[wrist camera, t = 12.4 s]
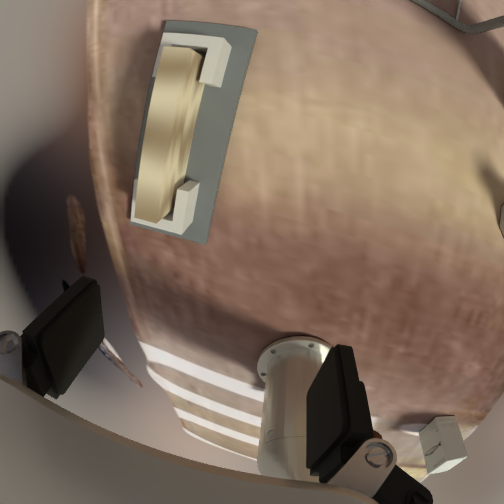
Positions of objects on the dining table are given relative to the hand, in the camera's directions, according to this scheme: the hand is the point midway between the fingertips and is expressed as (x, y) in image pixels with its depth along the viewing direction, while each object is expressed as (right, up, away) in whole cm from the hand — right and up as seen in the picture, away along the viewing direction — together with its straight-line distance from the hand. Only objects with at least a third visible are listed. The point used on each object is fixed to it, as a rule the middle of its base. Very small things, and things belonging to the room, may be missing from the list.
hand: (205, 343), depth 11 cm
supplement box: (+46, -38, +40) cm, 72 cm away
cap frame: (-6, +17, +19) cm, 26 cm away
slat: (-6, +16, +18) cm, 25 cm away
